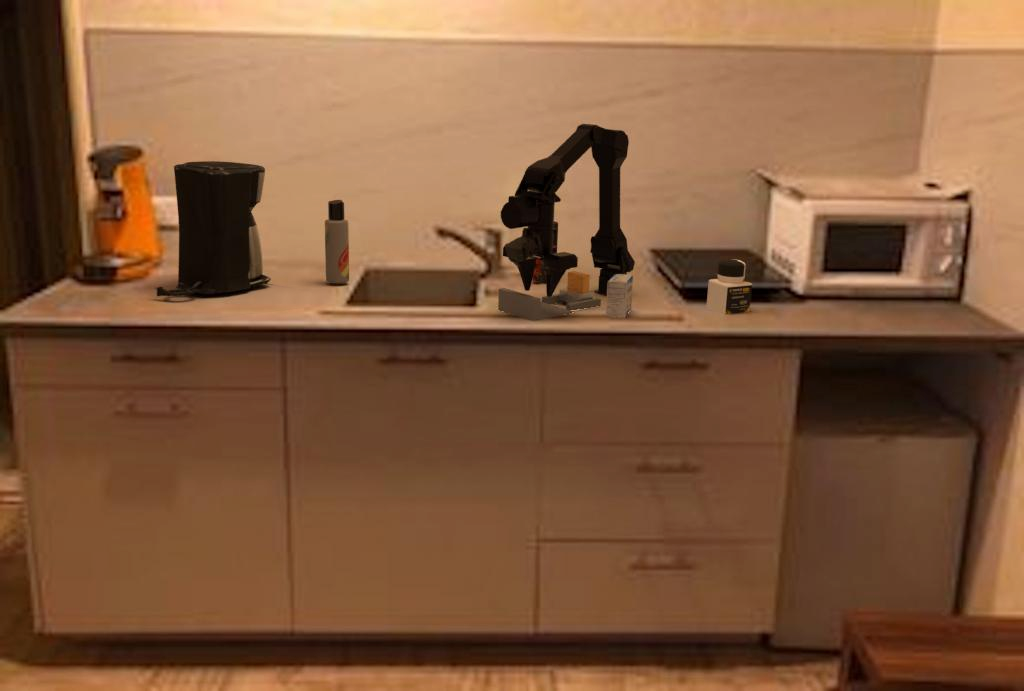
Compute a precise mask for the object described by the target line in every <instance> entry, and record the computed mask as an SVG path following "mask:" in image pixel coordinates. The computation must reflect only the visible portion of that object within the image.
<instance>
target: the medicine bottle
mask: <svg viewBox="0 0 1024 691" xmlns="http://www.w3.org/2000/svg"><path fill="white" fill-rule="evenodd" d="M717 264H718V265H717V266H718V267H717V274H716V275H717V278H712V279H708V285H707V286H708V287H707V296H706V297H707V298H706V309H708V310H710V311H713V312H717V313H720V314H723V315H733V314H734V315H735V314H744V313H749V312H750V310H751V301H752V290H753V289H752V288H753V283H751V282H748V281H745V275H746V266H747V265H746V263H745V262H744V261H742V260H740V259H734V258H725V259H722V260H719V262H718V263H717Z"/></svg>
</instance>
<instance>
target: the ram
mask: <svg viewBox="0 0 1024 691" xmlns="http://www.w3.org/2000/svg"><path fill="white" fill-rule="evenodd" d="M566 287H567V288H561V289H559V293H558V294H559V300H562V301H566V302H565V303H573V302H578V301H583V300H589V299H594V290H593V291H591V290H590V274H589V273H583V272H580V271H576V270H571V271H568V272H567V286H566Z"/></svg>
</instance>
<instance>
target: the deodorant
mask: <svg viewBox="0 0 1024 691" xmlns="http://www.w3.org/2000/svg"><path fill="white" fill-rule="evenodd" d="M554 228H556V229H558V231H557V234H553V247H557V248H558V242H559V241H558V239H559V238H558V237H559V222H558V221H555V220H554ZM553 253H558V251H557V252H552V254H553ZM543 257H544V256H543ZM544 267H548V266H547V264H546V261H543V260H539V259H536V264H535V268H534V273H533V278H532V283H536V284H541V285H542V284H544V285H545V284H546V273H545V271H544V270H543V269H542V268H544Z"/></svg>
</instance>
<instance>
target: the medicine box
mask: <svg viewBox="0 0 1024 691" xmlns="http://www.w3.org/2000/svg"><path fill="white" fill-rule="evenodd" d="M633 282H634V275H631V274H627V275H625V274H615V275H614V276H613V277H612V278H611V279H610V280H609V281H608V284H607V296H606V305H605V306H606V308H605V309H606V310H605V311H606V312H605V317H606V318H616V317H618V318H619V319H626V318H627V317H626V315H627V314H628V312H629V311H630V310H631V311H632V304H633V303H632V302H633ZM628 315H629V314H628ZM607 316H608V317H607ZM623 317H624V318H623ZM625 317H626V318H625Z"/></svg>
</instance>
